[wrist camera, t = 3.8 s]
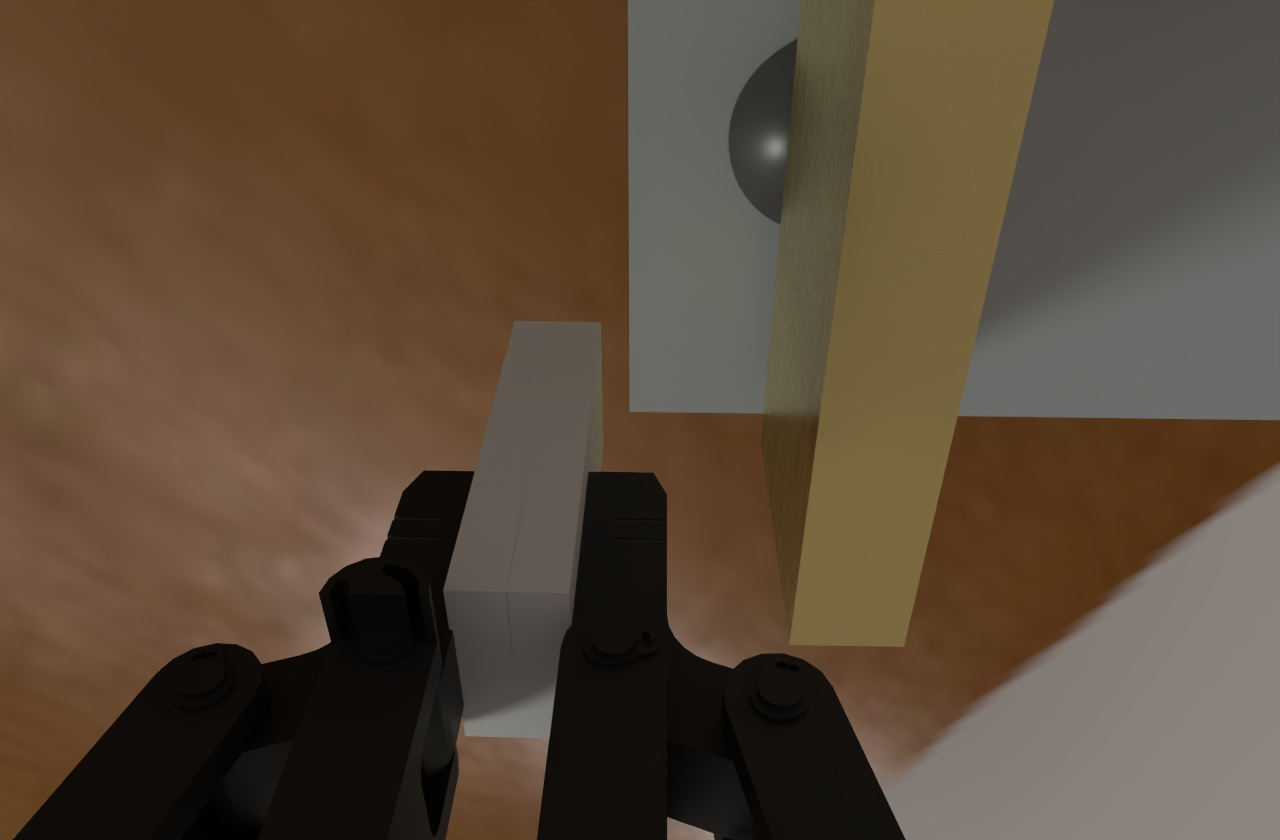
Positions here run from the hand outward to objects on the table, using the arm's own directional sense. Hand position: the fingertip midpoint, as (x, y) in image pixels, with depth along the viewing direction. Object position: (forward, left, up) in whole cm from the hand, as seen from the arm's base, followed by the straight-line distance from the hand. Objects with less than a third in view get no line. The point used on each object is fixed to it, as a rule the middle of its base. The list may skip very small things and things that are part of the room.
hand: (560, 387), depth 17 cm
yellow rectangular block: (+5, +3, -4) cm, 7 cm away
